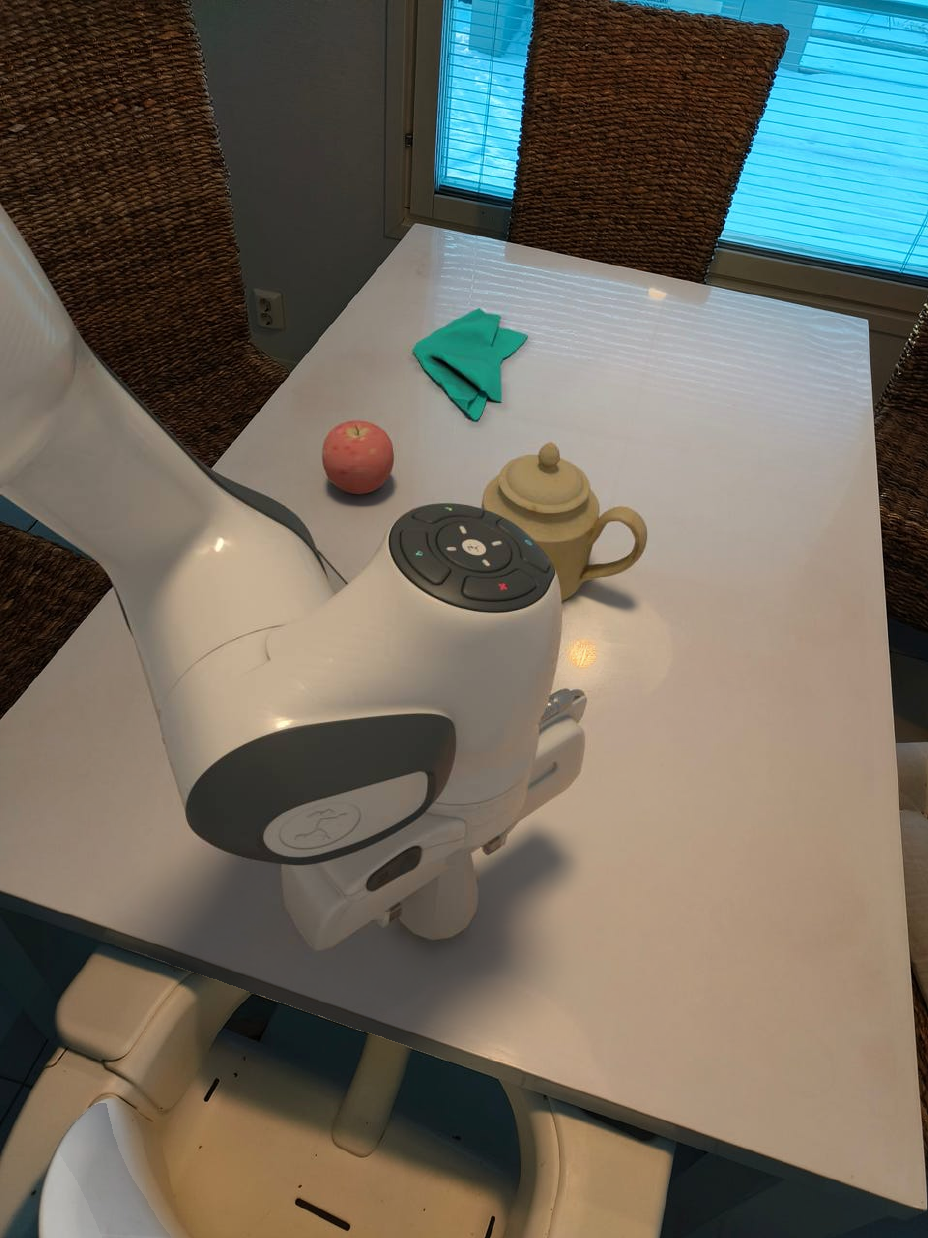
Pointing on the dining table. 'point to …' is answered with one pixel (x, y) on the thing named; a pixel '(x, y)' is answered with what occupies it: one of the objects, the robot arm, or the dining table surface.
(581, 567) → the sugar bowl
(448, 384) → the cloth
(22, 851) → the dining table surface
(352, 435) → the apple
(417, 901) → the salt shaker
